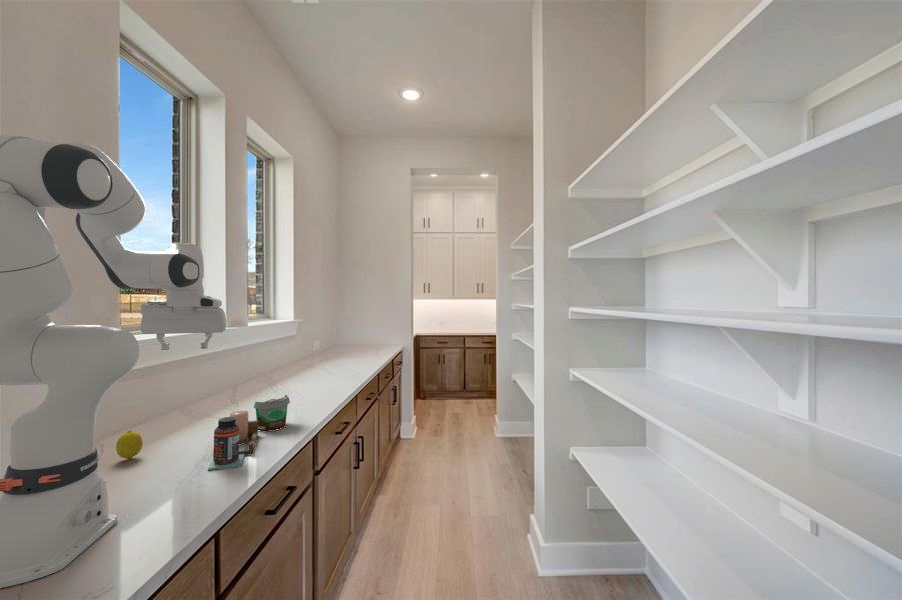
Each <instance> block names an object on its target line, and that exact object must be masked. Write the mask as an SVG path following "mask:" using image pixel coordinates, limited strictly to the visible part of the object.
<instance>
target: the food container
mask: <svg viewBox="0 0 902 600" xmlns="http://www.w3.org/2000/svg"><path fill="white" fill-rule="evenodd" d="M290 403H291V400H290V397H289V396H288V395H287V394H284V397H281V398H271V399H268V400H266V401H254V404H253V409H255V414H256V420H258V430H260V431H259V432H263V431H266V432H270V431H269V430H275V431H277V430H276V429H279V430H281V429H280V428H282V427H284V426H285V427H286V423H287V414H288V405H289V404H290ZM285 427H284V428H285ZM282 429H283V428H282Z"/></svg>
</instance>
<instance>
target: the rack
mask: <svg viewBox="0 0 902 600" xmlns="http://www.w3.org/2000/svg"><path fill="white" fill-rule="evenodd" d="M258 436H259V431H258V420H257V419H256V420H248V439H251V440H250V442H249V443H248V449H244V450H239V454H244V456H252V454H253V455H254V452H255V449H254V448H256V445H255V444H257V441H258ZM249 437H252V438H249ZM256 440H257V441H256ZM212 452H213V453H212V459H213V458H214V450H213V451H212Z"/></svg>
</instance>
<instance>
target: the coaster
mask: <svg viewBox="0 0 902 600" xmlns="http://www.w3.org/2000/svg"><path fill="white" fill-rule="evenodd" d="M244 458H245V455H244V454H239V458H238V459H237V460H236V461H234V462H232V463H229V464H224V465H220V464H216V463H214V458H213V457H212V460H211V462H210V464H209V466H208V468H207V471H208V472H210V471H209V470H211V471H216V470H215V469H219V470H225V469H224V468H226V469H231V468H230V467H233V468H239V466H241V467H242V464H243V462H244ZM242 461H243V462H242Z"/></svg>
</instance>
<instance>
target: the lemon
mask: <svg viewBox="0 0 902 600" xmlns="http://www.w3.org/2000/svg"><path fill="white" fill-rule="evenodd" d="M142 448H143V438H142V435H141V434H140V433H139V432H137V431H133V430H130V429H129V430H127V431H126V432H124V433H122V434H121V435H120V436H119V437H118V439H117V441H116V445H115V449H116V453H117V455H118V456H119V457H120V458H122V459H126V460H131V459H133V457H135V456H137V455H138V454H139V453H140V452H141V450H142Z"/></svg>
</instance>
